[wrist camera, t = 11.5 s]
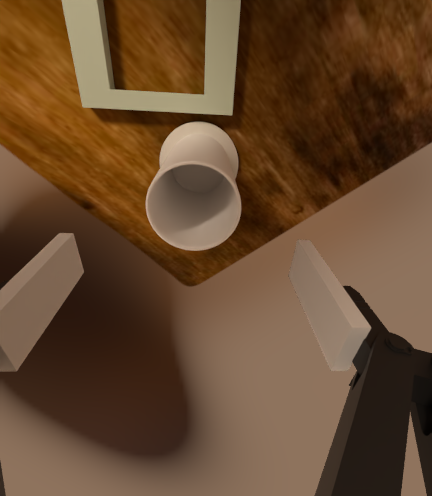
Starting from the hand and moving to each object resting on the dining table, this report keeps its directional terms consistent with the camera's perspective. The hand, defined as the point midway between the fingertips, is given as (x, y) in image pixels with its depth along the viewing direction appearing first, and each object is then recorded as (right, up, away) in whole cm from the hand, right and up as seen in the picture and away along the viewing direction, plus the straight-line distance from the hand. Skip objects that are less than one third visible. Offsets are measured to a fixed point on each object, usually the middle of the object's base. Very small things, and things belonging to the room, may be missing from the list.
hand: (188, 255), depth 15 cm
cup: (-1, +12, +20) cm, 24 cm away
